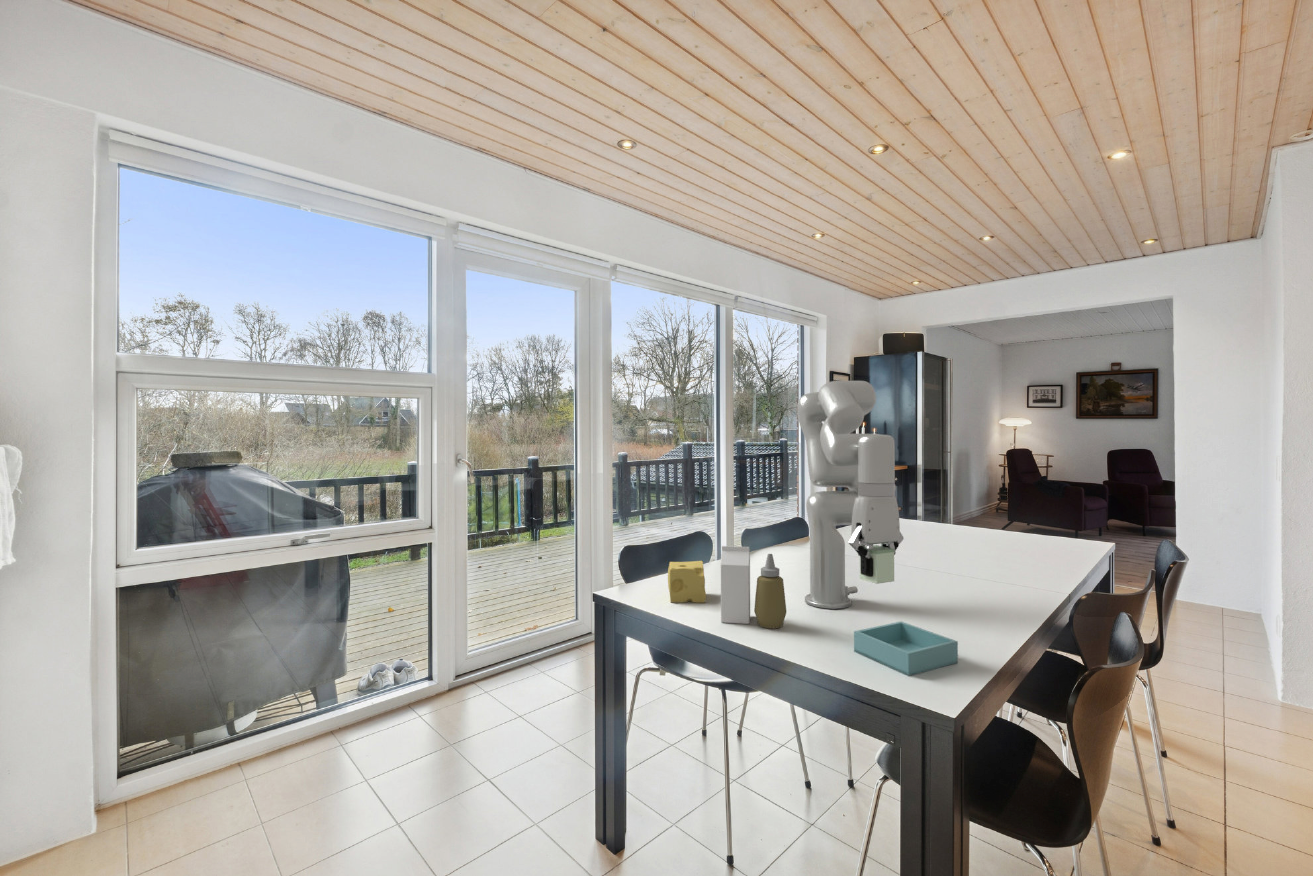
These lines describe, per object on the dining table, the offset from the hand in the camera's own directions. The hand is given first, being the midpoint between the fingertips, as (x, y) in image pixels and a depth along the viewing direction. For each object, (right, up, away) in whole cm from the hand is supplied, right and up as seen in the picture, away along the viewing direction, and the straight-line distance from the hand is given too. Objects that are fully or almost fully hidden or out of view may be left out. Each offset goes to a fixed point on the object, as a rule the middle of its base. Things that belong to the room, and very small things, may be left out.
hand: (876, 573), depth 129 cm
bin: (+5, -18, -2) cm, 19 cm away
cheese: (-40, -18, +44) cm, 62 cm away
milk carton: (-28, -18, +24) cm, 41 cm away
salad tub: (0, -2, 0) cm, 2 cm away
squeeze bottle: (-20, -18, +19) cm, 33 cm away
